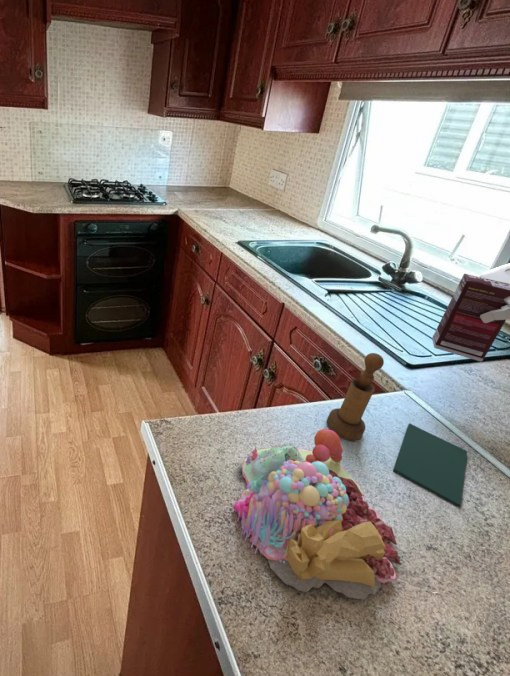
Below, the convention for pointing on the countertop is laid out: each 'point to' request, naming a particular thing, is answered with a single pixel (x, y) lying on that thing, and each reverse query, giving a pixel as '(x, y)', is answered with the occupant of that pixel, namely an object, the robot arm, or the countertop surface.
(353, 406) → the mortar and pestle
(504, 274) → the robot arm
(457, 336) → the supplement box
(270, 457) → the candy landscape model
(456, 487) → the rubber mat
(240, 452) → the countertop surface
